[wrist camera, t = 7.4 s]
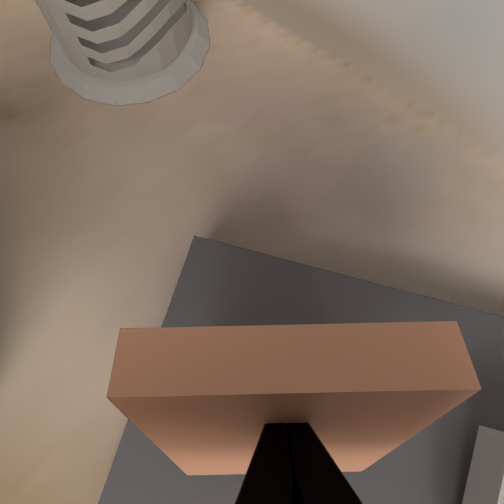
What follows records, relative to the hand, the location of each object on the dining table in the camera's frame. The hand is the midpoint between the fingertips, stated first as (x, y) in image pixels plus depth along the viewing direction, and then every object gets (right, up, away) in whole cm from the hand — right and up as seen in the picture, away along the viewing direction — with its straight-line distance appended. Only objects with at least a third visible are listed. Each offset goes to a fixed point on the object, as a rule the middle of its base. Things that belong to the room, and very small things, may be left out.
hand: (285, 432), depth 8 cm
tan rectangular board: (0, -4, +6) cm, 7 cm away
